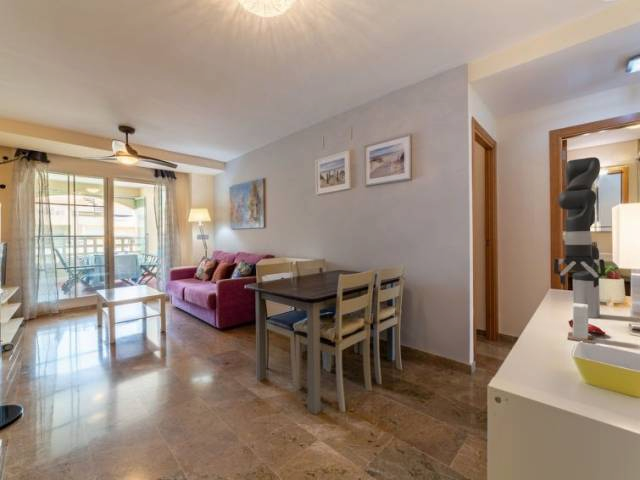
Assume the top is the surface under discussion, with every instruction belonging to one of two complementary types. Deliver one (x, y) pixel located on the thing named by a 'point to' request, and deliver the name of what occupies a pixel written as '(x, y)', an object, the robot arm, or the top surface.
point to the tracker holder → (590, 327)
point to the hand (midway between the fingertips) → (578, 286)
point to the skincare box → (580, 321)
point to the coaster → (570, 337)
